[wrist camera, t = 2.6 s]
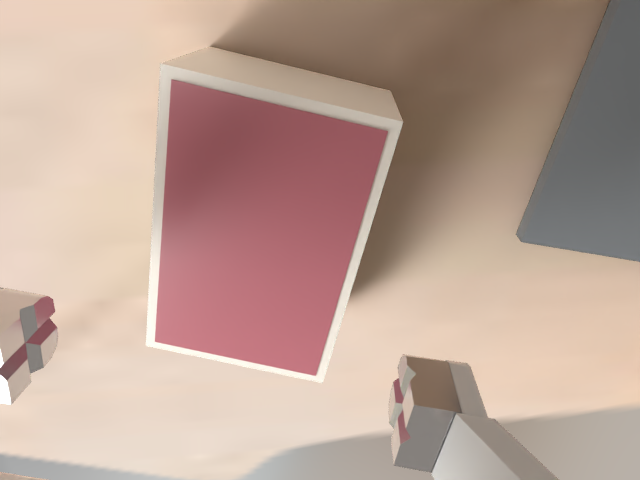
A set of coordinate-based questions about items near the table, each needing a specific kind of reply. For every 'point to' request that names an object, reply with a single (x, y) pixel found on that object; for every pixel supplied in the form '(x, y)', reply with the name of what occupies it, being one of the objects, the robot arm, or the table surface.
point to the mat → (596, 151)
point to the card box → (261, 208)
